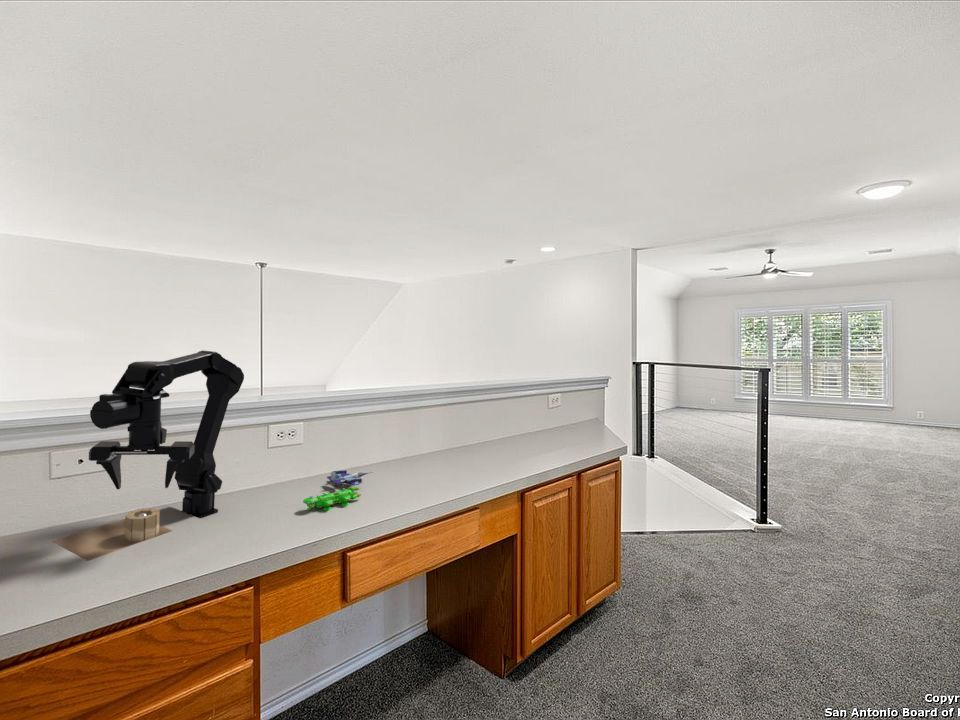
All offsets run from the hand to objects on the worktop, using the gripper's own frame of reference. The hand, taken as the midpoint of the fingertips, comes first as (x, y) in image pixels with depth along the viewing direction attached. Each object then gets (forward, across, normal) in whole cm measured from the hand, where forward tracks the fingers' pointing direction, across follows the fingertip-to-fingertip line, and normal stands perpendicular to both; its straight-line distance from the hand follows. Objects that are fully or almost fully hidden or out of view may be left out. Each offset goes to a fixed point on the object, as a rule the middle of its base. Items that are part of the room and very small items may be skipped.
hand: (143, 488), depth 110 cm
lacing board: (+12, +5, 0) cm, 13 cm away
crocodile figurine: (+13, -42, -17) cm, 47 cm away
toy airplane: (+12, -48, -33) cm, 59 cm away
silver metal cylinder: (+11, 0, 0) cm, 11 cm away
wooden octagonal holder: (+11, 0, 0) cm, 11 cm away
